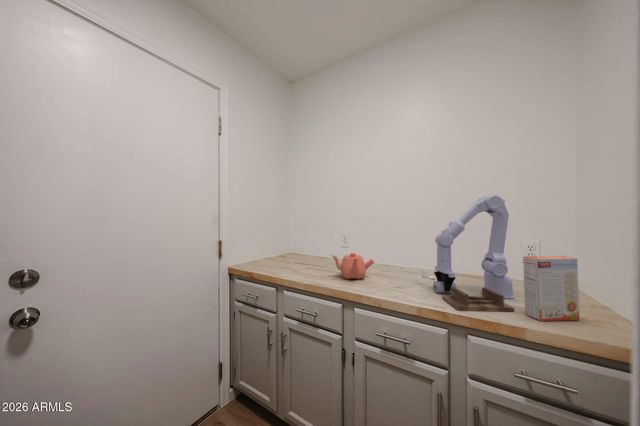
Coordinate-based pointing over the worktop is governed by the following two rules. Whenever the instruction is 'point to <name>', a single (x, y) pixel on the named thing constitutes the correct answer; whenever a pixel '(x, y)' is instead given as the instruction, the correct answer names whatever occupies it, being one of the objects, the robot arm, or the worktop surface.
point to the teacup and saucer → (426, 275)
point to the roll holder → (477, 301)
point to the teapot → (353, 266)
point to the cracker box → (551, 288)
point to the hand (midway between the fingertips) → (444, 289)
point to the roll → (441, 287)
